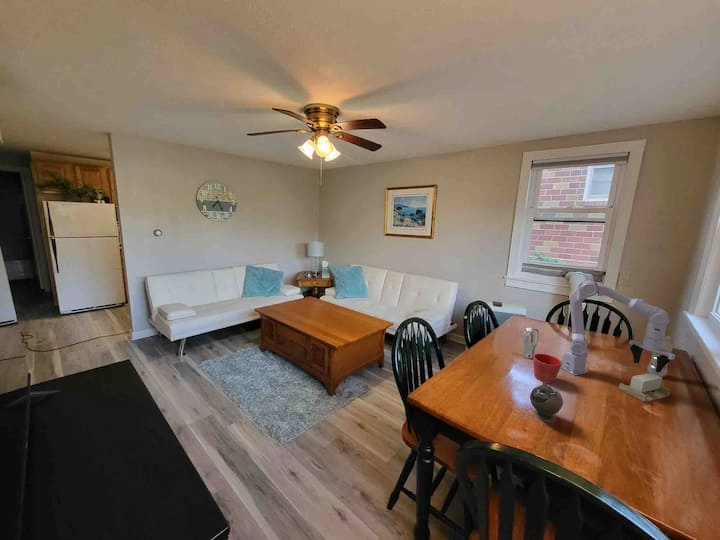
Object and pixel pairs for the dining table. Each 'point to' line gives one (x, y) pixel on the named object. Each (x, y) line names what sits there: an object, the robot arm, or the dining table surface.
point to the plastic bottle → (653, 362)
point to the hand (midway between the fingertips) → (646, 367)
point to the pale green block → (646, 382)
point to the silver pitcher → (529, 342)
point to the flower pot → (546, 367)
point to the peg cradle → (645, 393)
